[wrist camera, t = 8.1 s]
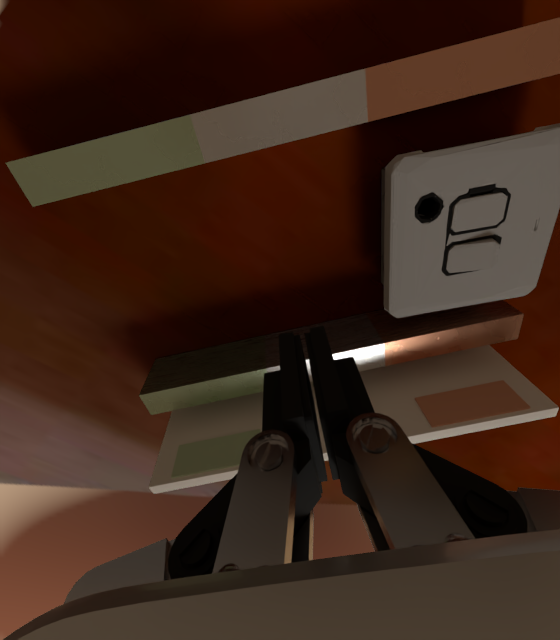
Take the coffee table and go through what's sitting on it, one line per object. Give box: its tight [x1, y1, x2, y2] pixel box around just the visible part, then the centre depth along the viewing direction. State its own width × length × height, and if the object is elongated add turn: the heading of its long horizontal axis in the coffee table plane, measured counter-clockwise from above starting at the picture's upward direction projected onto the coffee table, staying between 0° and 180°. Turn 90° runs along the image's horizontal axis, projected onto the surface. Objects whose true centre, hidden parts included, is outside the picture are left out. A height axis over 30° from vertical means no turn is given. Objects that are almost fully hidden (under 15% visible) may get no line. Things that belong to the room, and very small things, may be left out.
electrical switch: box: [381, 124, 560, 318], centre depth 18 cm, size 9×5×9 cm
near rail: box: [6, 18, 560, 207], centre depth 15 cm, size 26×2×3 cm, turn 102°
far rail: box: [139, 300, 524, 415], centre depth 22 cm, size 26×2×4 cm, turn 102°
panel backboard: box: [149, 345, 559, 494], centre depth 22 cm, size 26×1×8 cm, turn 102°
